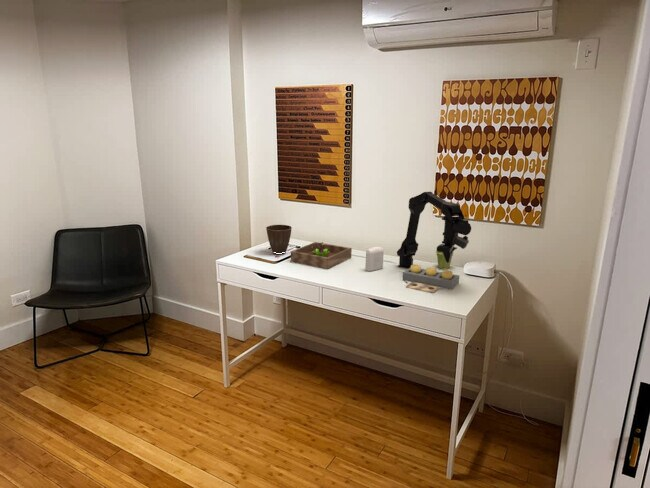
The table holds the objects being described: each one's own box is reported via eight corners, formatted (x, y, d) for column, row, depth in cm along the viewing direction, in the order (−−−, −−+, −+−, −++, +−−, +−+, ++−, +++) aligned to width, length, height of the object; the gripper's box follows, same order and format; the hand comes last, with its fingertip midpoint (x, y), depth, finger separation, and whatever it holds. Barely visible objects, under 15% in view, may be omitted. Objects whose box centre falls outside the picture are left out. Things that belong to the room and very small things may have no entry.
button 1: (408, 274, 228) (409, 266, 227) (412, 271, 232) (413, 264, 231) (418, 276, 226) (418, 268, 225) (421, 273, 230) (422, 265, 229)
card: (405, 287, 217) (405, 285, 217) (412, 282, 224) (412, 281, 224) (433, 293, 210) (434, 291, 210) (439, 288, 217) (439, 286, 216)
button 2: (424, 277, 224) (424, 269, 223) (427, 274, 228) (428, 266, 227) (433, 279, 222) (434, 271, 221) (437, 276, 226) (437, 268, 225)
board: (402, 280, 228) (402, 272, 227) (410, 274, 237) (411, 266, 236) (451, 289, 215) (452, 281, 214) (458, 283, 224) (459, 275, 223)
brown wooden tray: (290, 261, 257) (290, 251, 255) (315, 251, 277) (315, 241, 275) (328, 269, 244) (328, 258, 242) (351, 258, 264) (351, 248, 262)
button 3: (439, 280, 220) (440, 272, 219) (443, 277, 224) (443, 269, 223) (450, 282, 217) (450, 274, 216) (453, 279, 222) (453, 271, 220)
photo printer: (378, 266, 248) (379, 244, 245) (384, 268, 245) (385, 246, 242) (364, 270, 243) (364, 247, 240) (369, 272, 239) (369, 249, 236)
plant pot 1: (295, 251, 277) (295, 225, 273) (286, 258, 264) (285, 231, 259) (273, 249, 282) (272, 223, 278) (262, 255, 268) (261, 229, 264)
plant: (308, 267, 249) (308, 247, 246) (300, 257, 267) (300, 238, 264) (343, 264, 254) (343, 244, 251) (333, 254, 272) (333, 236, 269)
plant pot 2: (440, 270, 242) (441, 255, 240) (431, 265, 251) (432, 250, 249) (455, 269, 245) (457, 253, 242) (446, 264, 253) (448, 249, 251)
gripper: (461, 237, 203) (458, 270, 207) (473, 229, 218) (470, 260, 222) (437, 233, 208) (435, 266, 213) (450, 226, 224) (447, 256, 228)
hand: (447, 262), depth 219 cm, fingers closed
